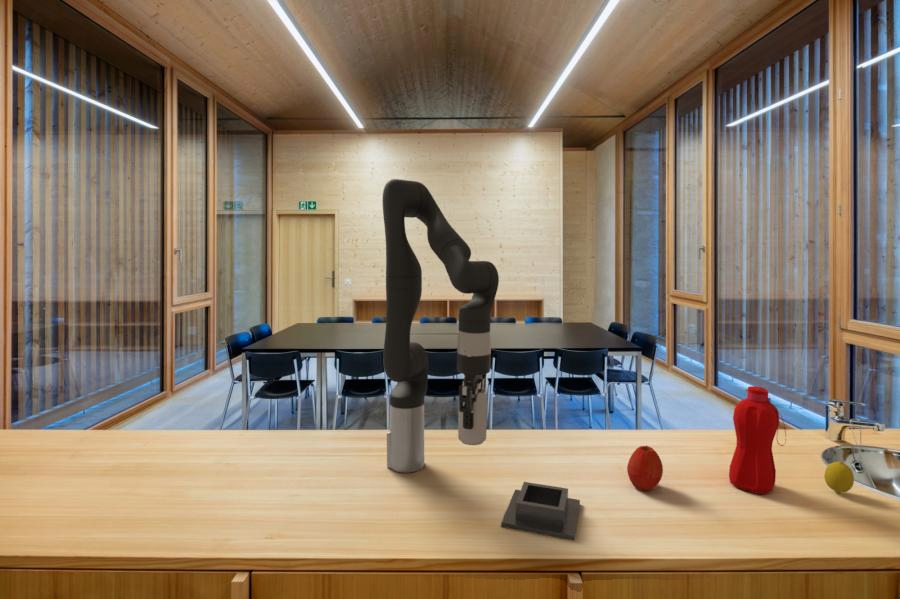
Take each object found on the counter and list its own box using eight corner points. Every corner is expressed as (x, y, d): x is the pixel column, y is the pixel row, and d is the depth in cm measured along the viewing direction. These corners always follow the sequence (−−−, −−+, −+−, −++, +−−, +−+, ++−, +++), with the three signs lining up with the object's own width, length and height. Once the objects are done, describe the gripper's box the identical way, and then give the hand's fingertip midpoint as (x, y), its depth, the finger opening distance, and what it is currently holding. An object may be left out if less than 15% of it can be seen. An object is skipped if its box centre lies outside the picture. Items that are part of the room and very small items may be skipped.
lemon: (846, 489, 120) (849, 458, 119) (856, 500, 114) (859, 468, 114) (819, 486, 121) (822, 455, 121) (828, 496, 116) (831, 464, 115)
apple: (666, 497, 116) (668, 453, 115) (629, 493, 117) (631, 450, 116) (657, 481, 124) (659, 440, 123) (623, 478, 125) (625, 437, 124)
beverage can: (484, 448, 108) (485, 395, 106) (455, 445, 109) (456, 392, 108) (487, 437, 114) (489, 386, 113) (460, 434, 115) (461, 384, 114)
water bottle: (778, 502, 114) (786, 397, 111) (725, 486, 121) (731, 387, 119) (785, 487, 121) (792, 388, 118) (734, 474, 128) (741, 380, 125)
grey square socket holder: (501, 526, 103) (501, 506, 103) (515, 493, 117) (515, 475, 117) (574, 540, 98) (575, 519, 98) (579, 504, 112) (580, 485, 112)
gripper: (467, 343, 117) (465, 411, 119) (447, 356, 104) (446, 432, 105) (497, 346, 115) (496, 415, 117) (481, 359, 101) (480, 437, 103)
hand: (472, 423), depth 111 cm, fingers closed on beverage can, 6 cm apart
